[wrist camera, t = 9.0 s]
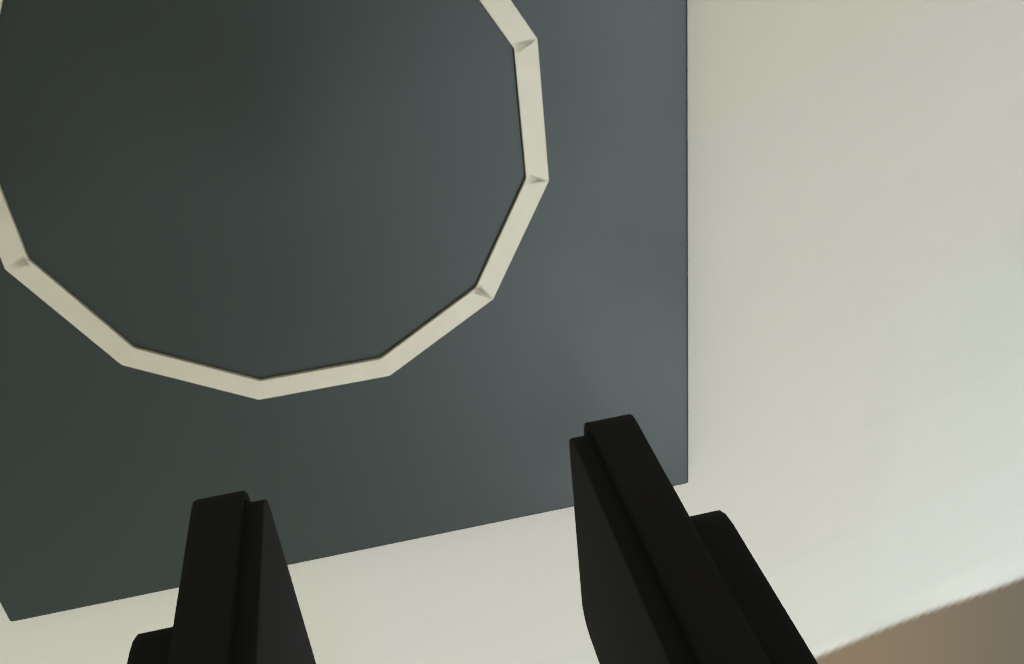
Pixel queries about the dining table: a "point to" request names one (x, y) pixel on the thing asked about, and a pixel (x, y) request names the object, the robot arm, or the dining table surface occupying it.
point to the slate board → (326, 269)
